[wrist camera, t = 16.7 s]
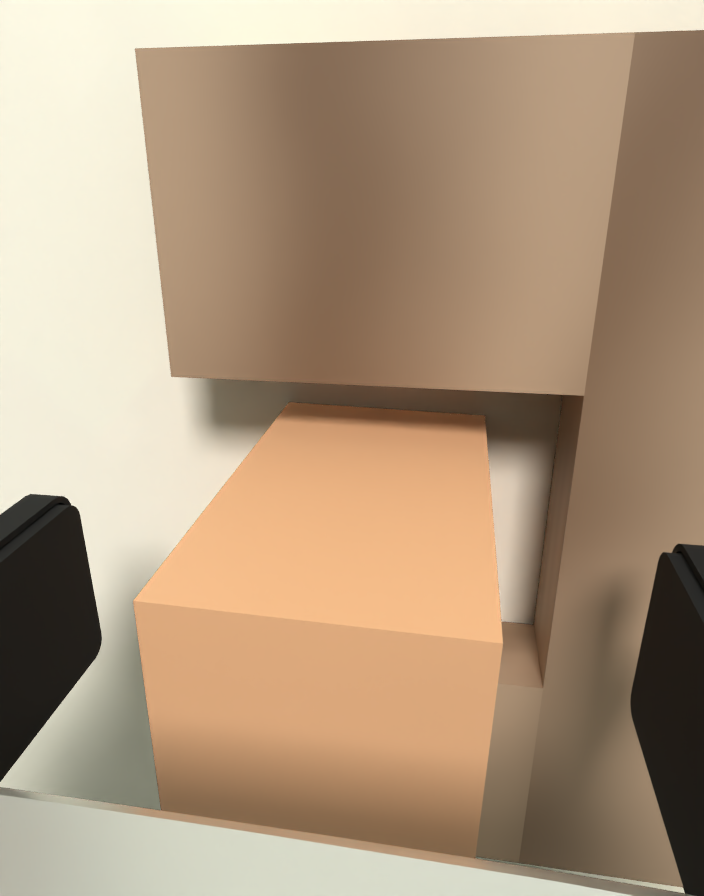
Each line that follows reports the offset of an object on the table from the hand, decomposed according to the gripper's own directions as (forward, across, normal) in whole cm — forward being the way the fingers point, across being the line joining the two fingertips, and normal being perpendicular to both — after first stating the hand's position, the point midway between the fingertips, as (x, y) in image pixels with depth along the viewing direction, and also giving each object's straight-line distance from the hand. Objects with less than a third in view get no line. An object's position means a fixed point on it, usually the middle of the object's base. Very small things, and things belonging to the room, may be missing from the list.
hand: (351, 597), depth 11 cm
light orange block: (+4, 0, 0) cm, 4 cm away
